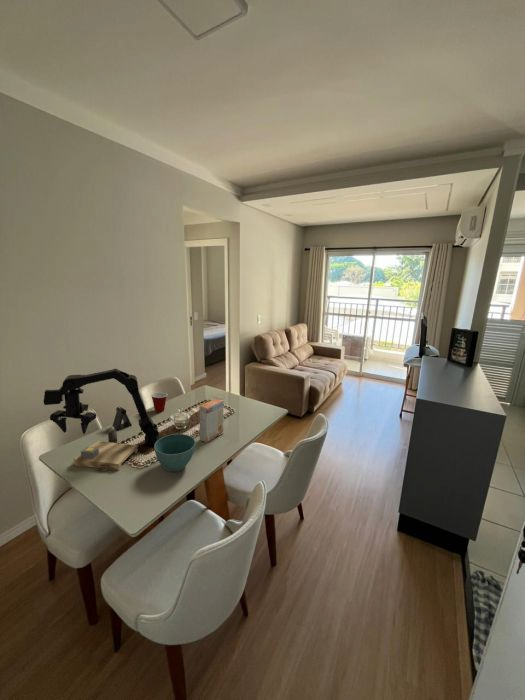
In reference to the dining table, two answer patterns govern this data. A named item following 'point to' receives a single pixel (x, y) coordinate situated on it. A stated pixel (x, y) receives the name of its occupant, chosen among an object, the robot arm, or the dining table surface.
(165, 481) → the dining table surface
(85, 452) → the stud finder
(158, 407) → the plastic cup
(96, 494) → the dining table surface
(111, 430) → the bottle
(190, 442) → the teal bowl
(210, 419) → the cracker box
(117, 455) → the wooden board
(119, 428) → the phone stand
